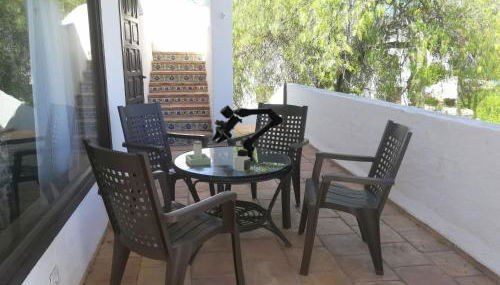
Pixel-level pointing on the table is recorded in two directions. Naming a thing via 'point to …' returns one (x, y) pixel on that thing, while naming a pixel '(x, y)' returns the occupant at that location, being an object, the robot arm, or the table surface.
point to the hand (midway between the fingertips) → (214, 141)
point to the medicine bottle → (242, 161)
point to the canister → (197, 150)
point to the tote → (198, 160)
